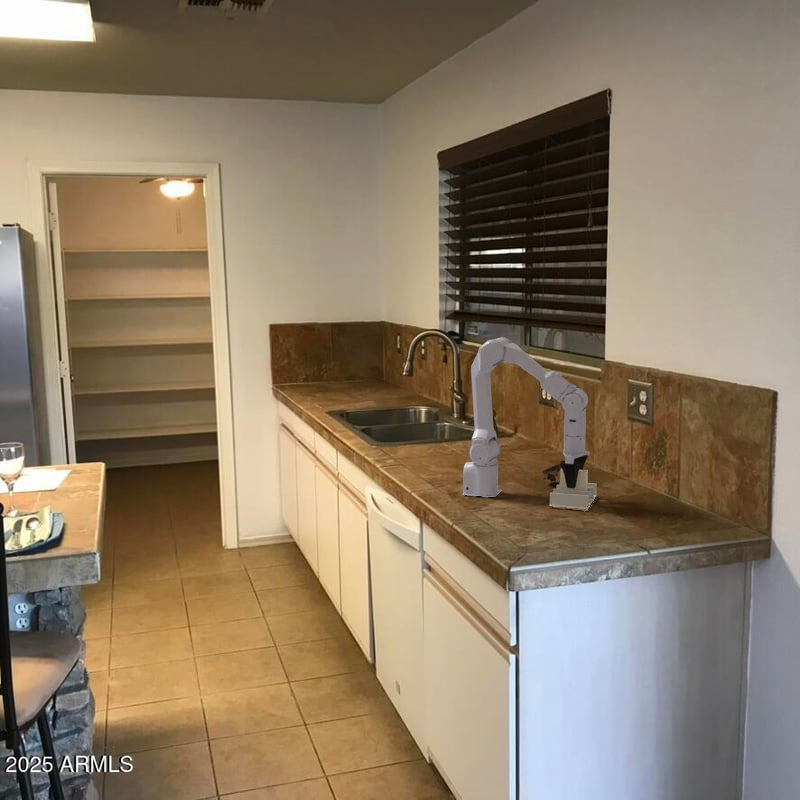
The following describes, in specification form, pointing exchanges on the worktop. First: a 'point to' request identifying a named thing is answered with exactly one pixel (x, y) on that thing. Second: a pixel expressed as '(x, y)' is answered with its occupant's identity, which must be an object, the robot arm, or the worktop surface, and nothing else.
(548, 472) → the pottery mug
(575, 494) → the dish rack
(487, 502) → the worktop surface
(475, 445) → the robot arm
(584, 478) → the beige rectangular block
